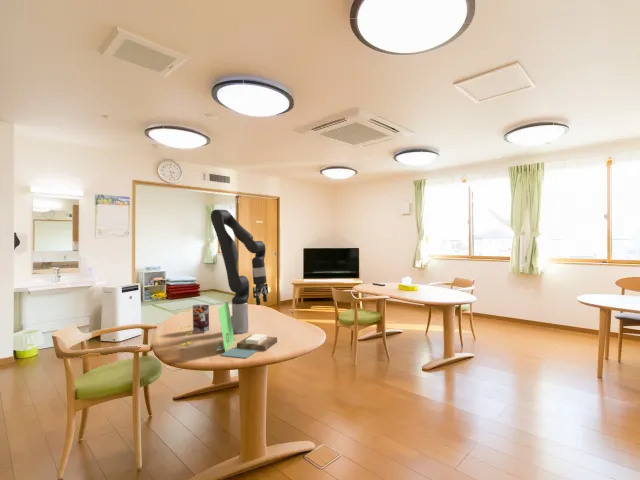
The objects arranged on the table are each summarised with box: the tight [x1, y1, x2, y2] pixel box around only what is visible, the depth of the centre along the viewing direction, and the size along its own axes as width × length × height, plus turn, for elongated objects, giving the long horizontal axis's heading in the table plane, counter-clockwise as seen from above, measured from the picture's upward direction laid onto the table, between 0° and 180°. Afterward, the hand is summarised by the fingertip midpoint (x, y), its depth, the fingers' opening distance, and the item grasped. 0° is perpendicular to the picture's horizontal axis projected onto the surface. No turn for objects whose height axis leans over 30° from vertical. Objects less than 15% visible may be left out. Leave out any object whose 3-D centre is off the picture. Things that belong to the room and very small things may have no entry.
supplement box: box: [192, 303, 210, 333], centre depth 201 cm, size 9×5×16 cm, turn 68°
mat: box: [219, 347, 259, 359], centre depth 161 cm, size 14×11×1 cm
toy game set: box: [179, 301, 235, 353], centre depth 172 cm, size 22×25×24 cm
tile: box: [246, 333, 268, 344], centre depth 172 cm, size 7×10×2 cm
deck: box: [236, 334, 278, 352], centre depth 173 cm, size 16×14×2 cm
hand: (261, 303), depth 191 cm, fingers open, 8 cm apart
